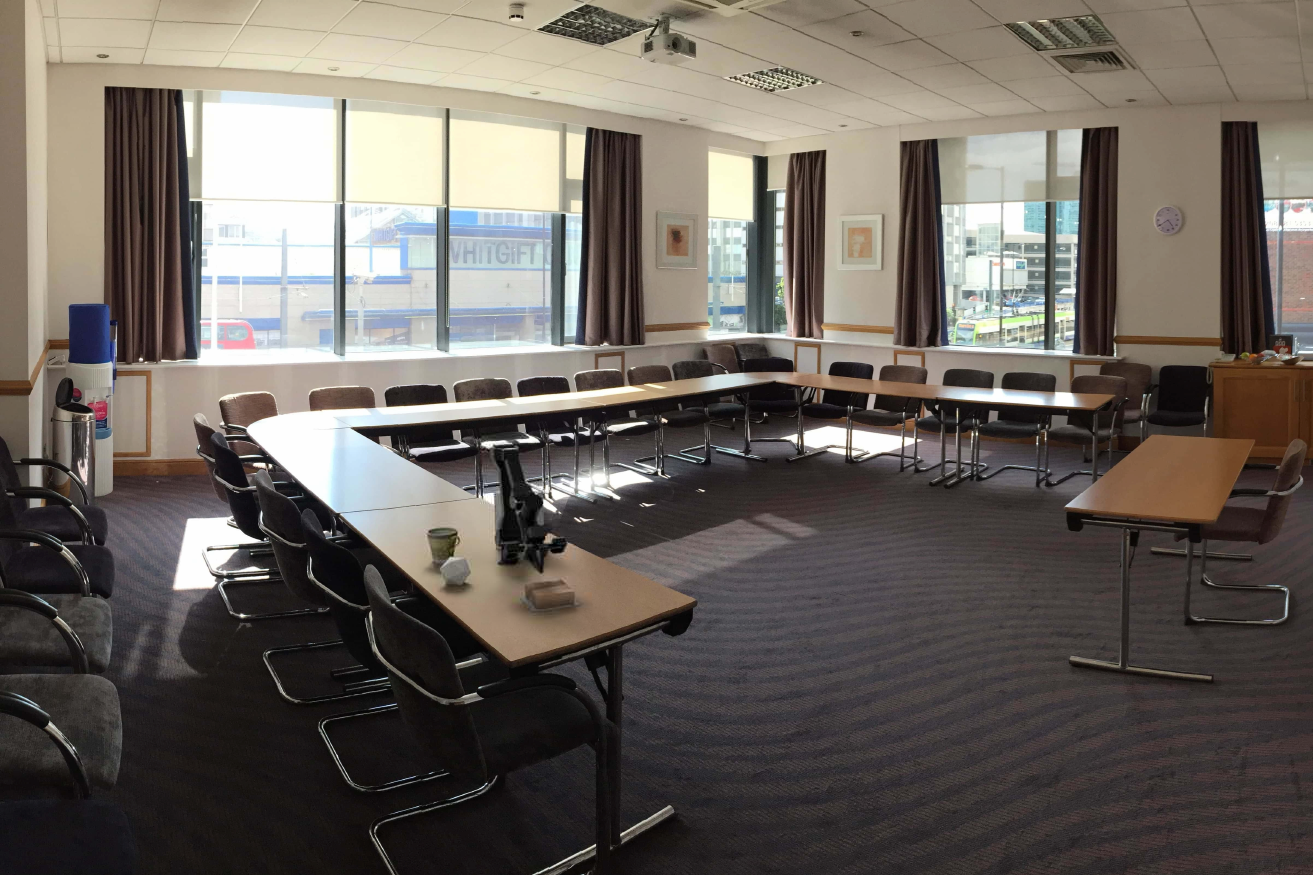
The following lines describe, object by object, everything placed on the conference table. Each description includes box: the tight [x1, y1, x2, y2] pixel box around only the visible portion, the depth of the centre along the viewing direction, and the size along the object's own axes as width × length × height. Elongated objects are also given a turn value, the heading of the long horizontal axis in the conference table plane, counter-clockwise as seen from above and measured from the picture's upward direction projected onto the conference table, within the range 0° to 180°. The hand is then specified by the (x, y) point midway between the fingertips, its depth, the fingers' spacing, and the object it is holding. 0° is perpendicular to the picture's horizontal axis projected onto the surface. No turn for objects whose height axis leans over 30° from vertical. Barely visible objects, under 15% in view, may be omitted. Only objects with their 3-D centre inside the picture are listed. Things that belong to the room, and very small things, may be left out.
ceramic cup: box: [426, 526, 461, 564], centre depth 308 cm, size 13×10×10 cm
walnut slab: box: [524, 578, 575, 610], centre depth 269 cm, size 4×11×12 cm
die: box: [439, 556, 472, 586], centre depth 285 cm, size 8×9×10 cm
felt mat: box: [519, 597, 581, 613], centre depth 269 cm, size 12×14×1 cm
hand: (541, 572), depth 275 cm, fingers closed
